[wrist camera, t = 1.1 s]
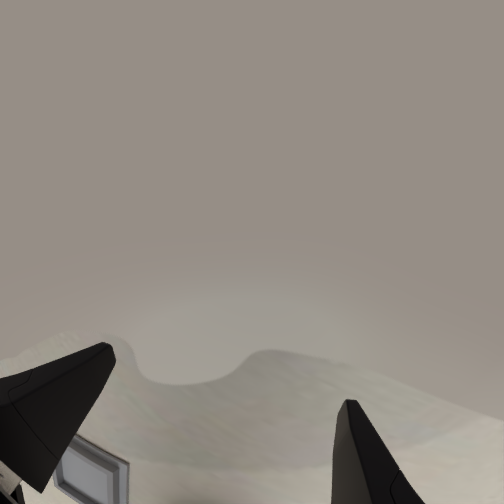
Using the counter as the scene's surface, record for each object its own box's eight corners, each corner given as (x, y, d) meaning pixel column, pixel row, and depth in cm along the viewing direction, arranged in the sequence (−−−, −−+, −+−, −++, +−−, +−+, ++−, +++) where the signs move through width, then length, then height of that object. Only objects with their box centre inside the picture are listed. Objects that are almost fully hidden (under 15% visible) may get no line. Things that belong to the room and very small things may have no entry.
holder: (128, 524, 18) (121, 531, 16) (58, 482, 20) (50, 486, 18) (129, 464, 21) (120, 470, 19) (53, 419, 23) (43, 422, 21)
